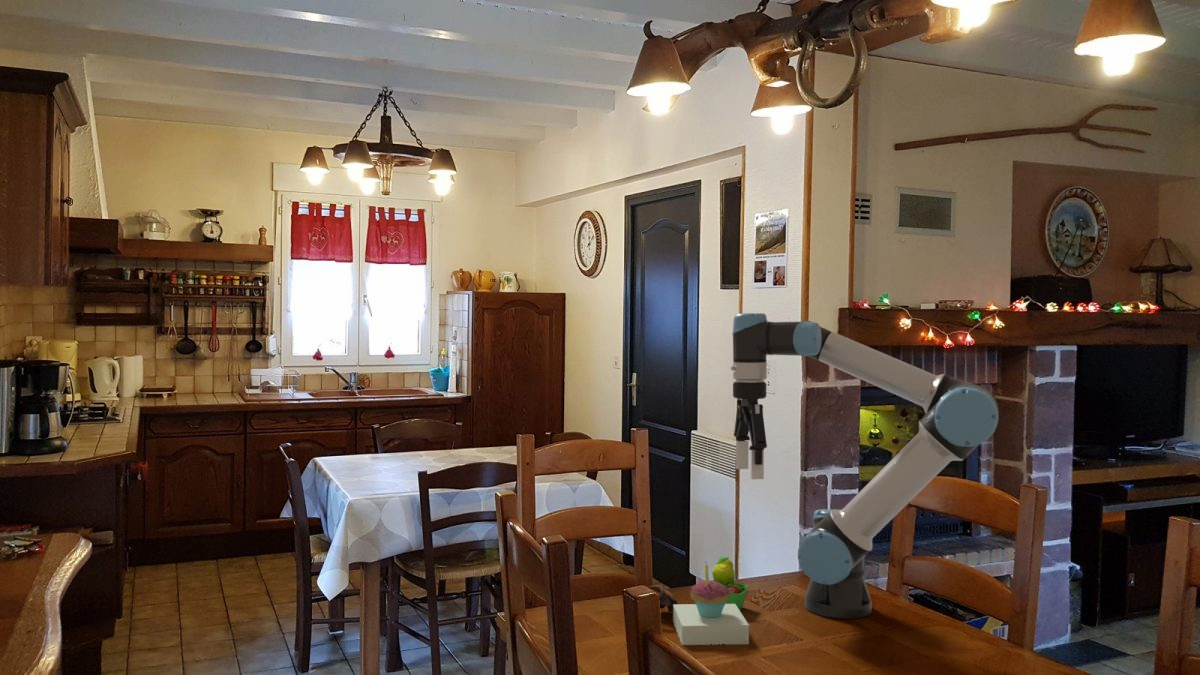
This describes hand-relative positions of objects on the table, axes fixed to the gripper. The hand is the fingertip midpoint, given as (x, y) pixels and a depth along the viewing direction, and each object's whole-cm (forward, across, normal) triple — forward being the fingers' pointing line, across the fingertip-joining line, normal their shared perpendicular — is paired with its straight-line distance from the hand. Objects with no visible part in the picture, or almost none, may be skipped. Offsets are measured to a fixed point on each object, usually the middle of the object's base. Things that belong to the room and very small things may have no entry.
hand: (749, 473), depth 207 cm
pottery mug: (+33, 0, -21) cm, 39 cm away
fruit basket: (+33, -6, -5) cm, 34 cm away
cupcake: (+29, +11, -12) cm, 33 cm away
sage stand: (+32, +11, -12) cm, 36 cm away
